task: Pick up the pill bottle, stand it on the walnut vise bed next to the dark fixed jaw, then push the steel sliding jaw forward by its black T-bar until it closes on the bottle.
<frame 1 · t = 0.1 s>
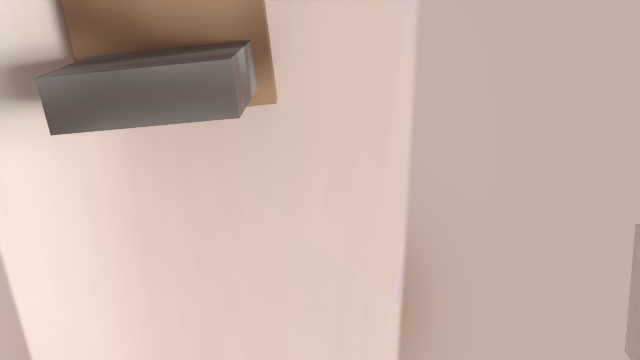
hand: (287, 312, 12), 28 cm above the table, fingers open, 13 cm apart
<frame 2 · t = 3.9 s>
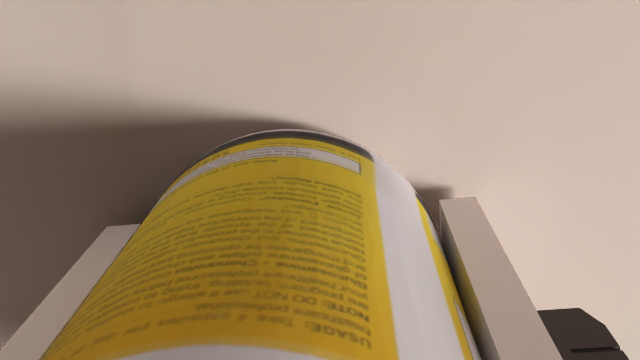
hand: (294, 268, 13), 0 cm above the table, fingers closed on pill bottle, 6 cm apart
pill bottle: (297, 253, 14), on the table, touching gripper
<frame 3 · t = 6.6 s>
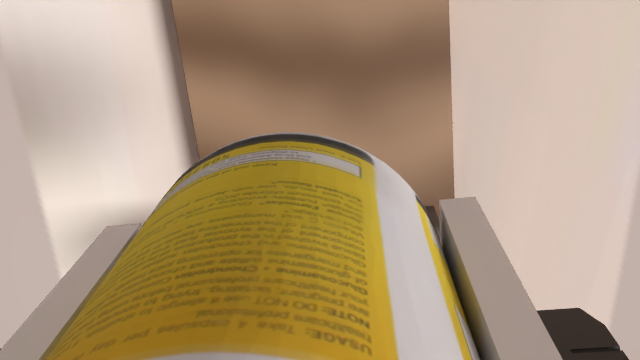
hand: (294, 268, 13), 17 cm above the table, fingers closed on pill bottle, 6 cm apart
pill bottle: (297, 256, 14), point 16 cm above the table, touching gripper
vise bed: (315, 46, 28), on the table
when the fingers open (3 cm above the table, at t = 9.4 s): pill bottle drops 1 cm, resting on vise bed.
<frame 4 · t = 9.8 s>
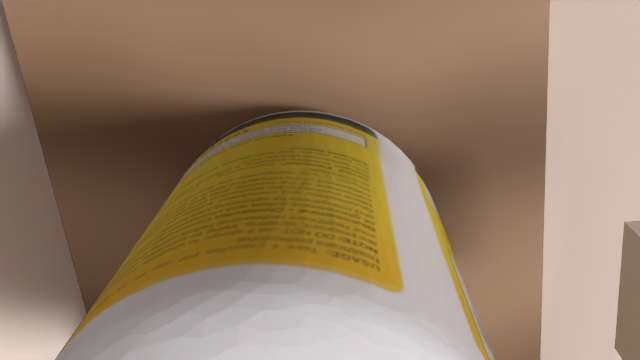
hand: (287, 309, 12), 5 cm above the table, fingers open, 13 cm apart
pill bottle: (307, 226, 15), point 1 cm above the table, touching vise bed
vise bed: (291, 123, 15), on the table
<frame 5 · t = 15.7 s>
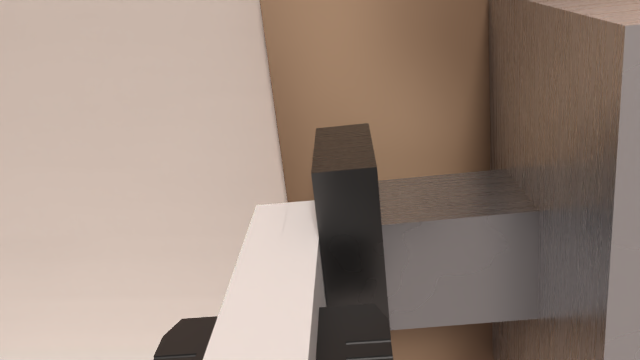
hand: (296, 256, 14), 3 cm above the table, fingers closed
sliding jaw: (502, 259, 12), point 4 cm above the table, slide at 1.2 cm, touching gripper, vise bed
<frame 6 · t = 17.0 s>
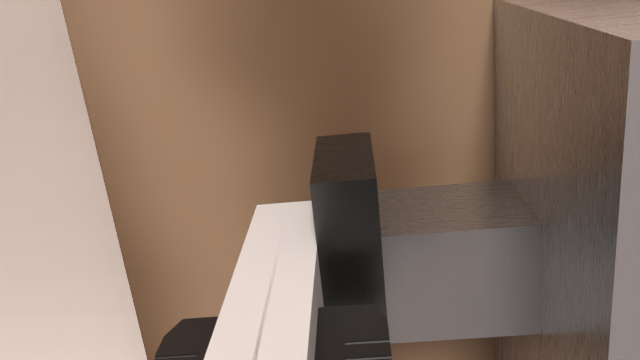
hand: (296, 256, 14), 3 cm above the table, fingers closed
sliding jaw: (504, 273, 12), point 4 cm above the table, slide at 5.8 cm, touching gripper, pill bottle, vise bed
vise bed: (568, 181, 16), on the table
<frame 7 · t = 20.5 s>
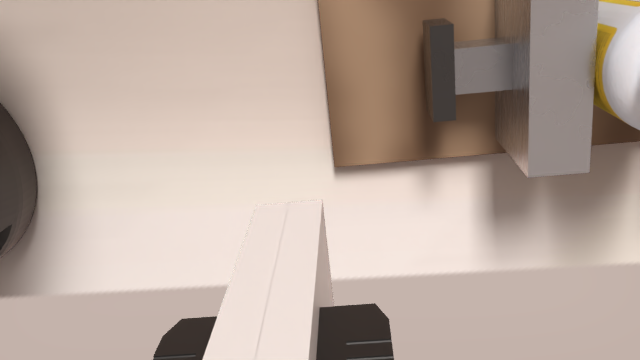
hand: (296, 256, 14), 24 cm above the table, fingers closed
sliding jaw: (498, 66, 32), point 4 cm above the table, slide at 5.9 cm, touching vise bed
pill bottle: (604, 41, 35), point 1 cm above the table, touching vise bed
vise bed: (527, 48, 36), on the table
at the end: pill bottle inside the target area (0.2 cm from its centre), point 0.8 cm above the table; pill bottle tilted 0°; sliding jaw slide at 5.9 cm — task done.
